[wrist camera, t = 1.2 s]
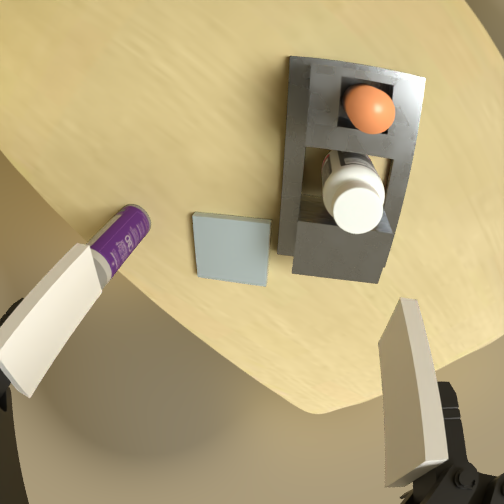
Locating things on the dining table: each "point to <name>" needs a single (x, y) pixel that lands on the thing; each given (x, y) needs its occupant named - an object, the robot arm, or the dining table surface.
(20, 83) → the dining table surface
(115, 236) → the container
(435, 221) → the dining table surface
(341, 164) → the pill bottle
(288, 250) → the housing
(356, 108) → the orange oval piece
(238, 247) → the pad
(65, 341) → the robot arm
